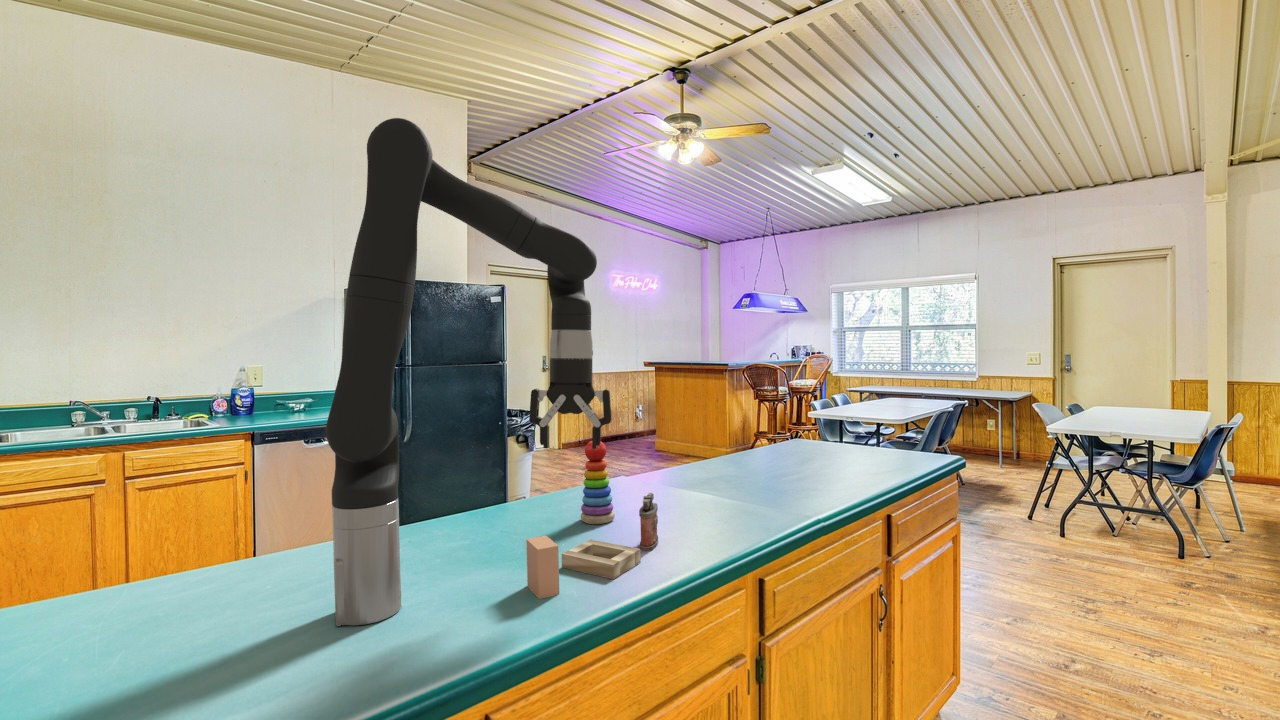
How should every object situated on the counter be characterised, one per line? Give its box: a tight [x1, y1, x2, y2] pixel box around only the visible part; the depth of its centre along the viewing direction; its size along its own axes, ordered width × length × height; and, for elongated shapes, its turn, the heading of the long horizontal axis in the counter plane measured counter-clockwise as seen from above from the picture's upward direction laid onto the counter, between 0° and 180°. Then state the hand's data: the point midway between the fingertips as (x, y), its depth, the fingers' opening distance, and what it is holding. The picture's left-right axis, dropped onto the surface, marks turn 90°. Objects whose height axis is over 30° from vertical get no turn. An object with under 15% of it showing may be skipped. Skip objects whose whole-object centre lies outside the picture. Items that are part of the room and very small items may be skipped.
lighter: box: [638, 492, 659, 552], centre depth 117 cm, size 8×3×10 cm, turn 168°
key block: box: [525, 535, 560, 600], centre depth 96 cm, size 4×6×8 cm, turn 29°
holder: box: [561, 539, 642, 580], centre depth 107 cm, size 9×12×2 cm
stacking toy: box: [580, 440, 615, 525], centre depth 135 cm, size 8×8×19 cm
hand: (570, 448), depth 102 cm, fingers open, 8 cm apart
